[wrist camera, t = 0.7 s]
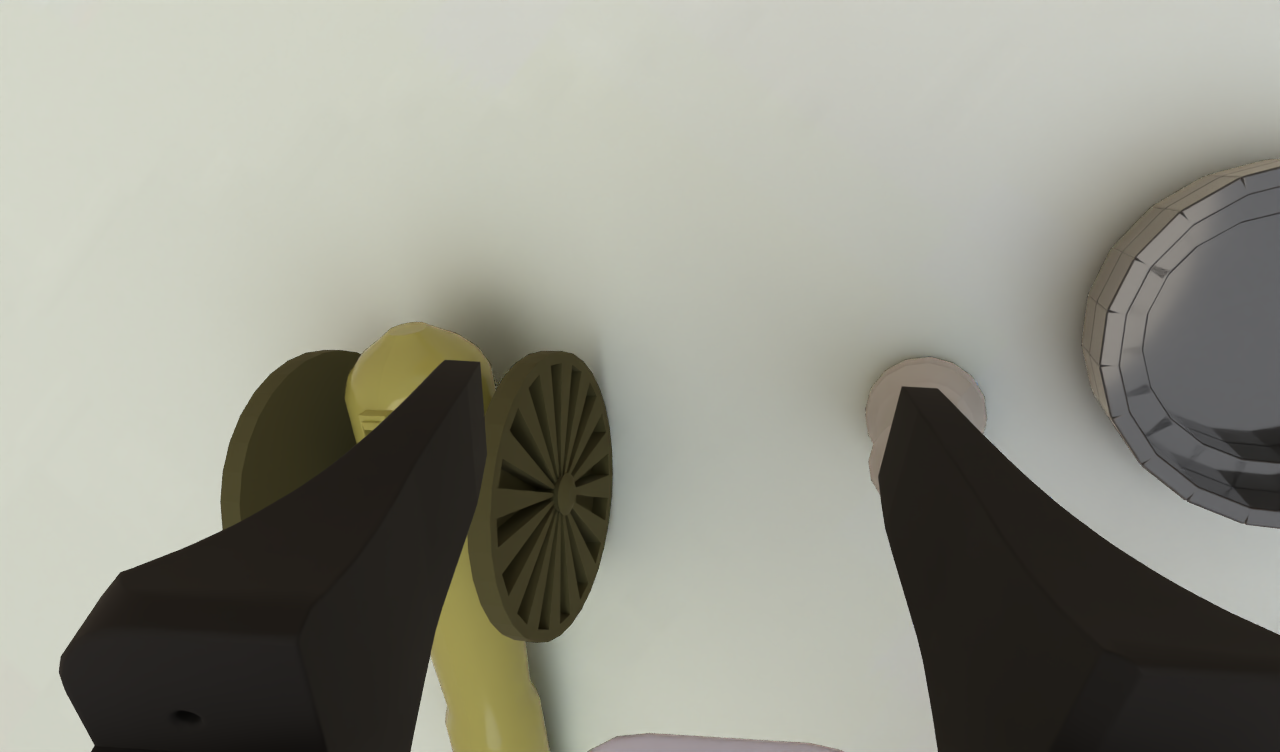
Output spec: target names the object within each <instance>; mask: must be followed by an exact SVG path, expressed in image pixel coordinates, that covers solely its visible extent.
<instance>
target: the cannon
mask: <svg viewBox="0 0 1280 752" xmlns="http://www.w3.org/2000/svg"><path fill="white" fill-rule="evenodd" d="M444 360H460V361H477V362H480V364H481V377H482V391H483V404H484V417H485V431H486V444H487V458H486V463H485V468H484V474H483V479H482V484H481V489H480V494H479V499H478V504H477V507H476V510H475V513H474V516H473V519H472V522H471V525H470V528H469V531H468V534H467V537H466V540H465V543H464V546H463V549H462V552H461V555H460V558H459V561H458V564H457V566H456V569H455V572H454V575H453V578H452V581H451V584H450V587H449V590H448V593H447V596H446V599H445V602H444V605H443V608H442V611H441V614H440V618H439V621H438V625H437V628H436V632H435V636H434V641H433V645H432V650H431V654H430V656H431V659H432V662H433V665H434V668H435V671H436V674H437V677H438V680H439V683H440V686H441V689H442V692H443V694H444V697H445V700H446V703H447V710H446V718H445V723H446V727H447V731H448V735H449V739H450V742H451V746H452V750H453V752H550V747H549V742H548V737H547V732H546V727H545V722H544V717H543V712H542V707H541V701H540V696H539V693H538V691H537V689H536V688H535V686H534V685H533V683H532V682H531V680H530V673H529V665H528V656H527V648H526V642H535V643H538V642H549V641H551V640H553V639H555V638H556V637H558V636H560V635H561V634H562V633H563V632H564V631H565V630H566V629H567V628H568V627H569V626H570V625H571V624H572V623H573V621H574V620H575V618H576V617H577V615H578V614H579V612H580V611H581V609H582V607H583V605H584V603H585V601H586V599H587V597H588V595H589V593H590V591H591V588H592V585H593V583H594V580H595V577H596V574H597V572H598V569H599V565H600V561H601V557H602V553H603V550H604V546H605V540H606V535H607V529H608V524H609V516H610V507H611V498H612V474H613V473H612V447H611V438H610V428H609V423H608V418H607V413H606V408H605V404H604V401H603V398H602V395H601V391H600V388H599V386H598V384H597V382H596V380H595V378H594V376H593V374H592V372H591V371H590V369H589V368H588V367H587V365H586V364H585V363H584V361H582V360H581V359H580V358H578V357H577V356H576V355H574V354H572V353H568V352H563V351H540V352H536V353H531V354H528V355H527V356H525V357H524V358H522V359H521V360H519V361H518V362H516V363H515V365H514V366H513V367H512V368H511V369H510V370H509V372H508V373H507V374H506V375H505V376H504V377H503V379H502V381H501V383H500V384H499V386H498V388H497V390H496V388H495V383H494V377H493V372H492V367H491V364H490V362H489V361H488V360H487V358H486V357H485V356H484V354H483V353H482V352H481V350H480V349H479V348H478V346H477V345H475V344H473V343H472V342H470V341H469V340H467V339H465V338H464V337H462V336H461V335H459V334H457V333H455V332H452V331H448V330H445V329H441V328H438V327H435V326H432V325H429V324H426V323H423V322H411V323H405V324H401V325H398V326H395V327H393V328H391V329H389V330H388V331H387V332H386V333H385V334H384V335H383V336H382V337H380V338H379V339H378V340H377V341H376V342H374V343H373V344H372V345H371V346H370V347H368V348H367V349H366V350H365V351H364V352H363V353H362V354H359V353H357V352H350V351H343V350H321V351H315V352H308V353H304V354H302V355H300V356H298V357H295V358H293V359H291V360H289V361H287V362H286V363H284V364H283V365H282V366H280V367H279V368H278V369H276V370H275V371H274V372H272V373H271V374H270V375H269V376H268V377H267V379H266V380H265V381H264V382H263V383H262V384H261V385H260V387H259V388H258V389H257V390H256V391H255V392H254V394H253V395H252V397H251V399H250V400H249V402H248V404H247V405H246V407H245V409H244V410H243V412H242V414H241V415H240V418H239V420H238V423H237V425H236V428H235V430H234V433H233V435H232V438H231V440H230V443H229V447H228V451H227V456H226V460H225V464H224V469H223V475H222V488H221V501H220V502H221V514H222V527H223V530H224V529H226V528H228V527H230V526H232V525H234V524H236V523H238V522H240V521H242V520H244V519H246V518H248V517H250V516H252V515H253V514H255V513H257V512H258V511H260V510H262V509H264V508H265V507H267V506H269V505H270V504H272V503H274V502H276V501H277V500H279V499H281V498H282V497H284V496H286V495H287V494H289V493H291V492H293V491H294V490H296V489H297V488H299V487H300V486H302V485H303V484H305V483H306V482H308V481H309V480H311V479H312V478H313V477H315V476H316V475H318V474H319V473H321V472H322V471H324V470H325V469H326V468H328V467H329V466H330V465H332V464H333V463H334V462H336V461H337V460H338V459H339V458H341V457H342V456H343V455H344V454H345V453H347V452H348V451H349V450H350V449H351V448H352V447H354V446H355V445H356V444H357V443H358V442H360V441H361V440H362V439H363V438H364V437H365V436H367V435H368V434H369V433H370V432H371V431H372V430H374V429H375V428H376V427H377V426H378V425H379V424H380V423H381V422H382V421H383V420H384V419H385V418H386V417H387V416H388V415H389V414H391V413H392V412H393V411H394V410H395V409H396V408H397V407H398V406H399V405H400V404H401V403H402V402H403V401H404V400H405V399H406V398H407V397H408V396H409V395H410V394H411V393H412V392H413V391H414V390H415V389H416V388H417V387H418V386H419V385H420V384H421V383H422V382H423V381H424V380H425V379H426V378H427V377H428V376H429V374H430V373H431V372H432V371H433V370H434V369H435V368H436V367H437V366H438V365H439V364H441V363H442V362H443V361H444Z"/></svg>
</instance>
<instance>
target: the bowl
mask: <svg viewBox="0 0 1280 752" xmlns="http://www.w3.org/2000/svg"><path fill="white" fill-rule="evenodd" d="M1081 346H1082V350H1083V355H1084V359H1085V364H1086V368H1087V373H1088V377H1089V382H1090V386H1091V390H1092V391H1093V394H1094V396H1095V397H1096V399H1097V400H1098V402H1099V403H1100V405H1101V406H1102V408H1103V410H1104V411H1105V413H1106V414H1107V416H1108V417H1109V419H1110V420H1111V422H1112V424H1113V425H1114V427H1115V428H1116V430H1117V431H1118V433H1119V434H1120V436H1121V437H1122V439H1123V440H1124V442H1125V443H1126V445H1127V446H1128V448H1129V449H1130V451H1131V452H1132V453H1133V455H1134V456H1135V458H1136V459H1137V461H1138V462H1139V463H1140V464H1141V466H1142V467H1143V468H1145V469H1146V470H1147V471H1148V472H1150V473H1151V474H1152V475H1154V476H1155V477H1156V478H1157V479H1159V480H1160V481H1161V482H1162V483H1164V484H1165V485H1166V486H1167V487H1169V488H1170V489H1171V490H1172V491H1174V492H1175V493H1176V494H1177V495H1179V496H1180V497H1181V498H1182V499H1184V500H1186V501H1187V502H1189V503H1192V504H1194V505H1197V506H1199V507H1202V508H1204V509H1207V510H1209V511H1212V512H1214V513H1217V514H1219V515H1222V516H1224V517H1227V518H1229V519H1232V520H1234V521H1237V522H1239V523H1242V524H1246V525H1253V526H1261V527H1270V528H1278V529H1280V159H1268V160H1262V161H1258V162H1254V163H1250V164H1246V165H1243V166H1239V167H1235V168H1231V169H1227V170H1224V171H1220V172H1216V173H1212V174H1208V175H1207V176H1203V177H1201V178H1199V179H1198V180H1196V181H1194V182H1192V183H1191V184H1189V185H1187V186H1185V187H1184V188H1182V189H1180V190H1179V191H1177V192H1175V193H1173V194H1172V195H1170V196H1168V197H1166V198H1165V199H1163V200H1161V201H1159V202H1158V203H1156V204H1154V205H1153V206H1152V207H1151V208H1149V210H1148V211H1147V212H1146V213H1145V214H1144V215H1143V216H1142V217H1141V218H1140V219H1139V220H1138V221H1137V222H1136V223H1135V224H1134V225H1133V226H1132V227H1131V228H1130V229H1129V230H1128V231H1127V232H1126V233H1125V234H1124V235H1123V236H1122V237H1121V238H1120V239H1119V240H1118V241H1117V242H1116V244H1115V245H1114V246H1113V248H1111V249H1110V251H1109V253H1108V255H1107V257H1106V259H1105V261H1104V263H1103V265H1102V267H1101V269H1100V271H1099V273H1098V275H1097V277H1096V279H1095V281H1094V283H1093V285H1092V287H1091V289H1090V291H1089V293H1088V297H1087V304H1086V312H1085V319H1084V327H1083V334H1082V345H1081Z"/></svg>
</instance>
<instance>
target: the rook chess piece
mask: <svg viewBox="0 0 1280 752" xmlns="http://www.w3.org/2000/svg"><path fill="white" fill-rule="evenodd" d="M902 386H907V387H924V388H938V389H939V390H940V391H941V392H942V393H943V394H944V395H945V396H946V397H947V398H948V399H949V400H950V401H951V402H952V403H953V404H954V405H955V406H956V407H957V408H958V409H959V410H960V411H961V412H962V413H963V414H964V415H965V416H966V417H967V418H968V419H969V420H970V422H971V423H972V424H973V425H974V426H975V427H976V428H977V429H978V430H979V431H980V432H981V433H982V434H983V433H984V430H985V427H986V421H987V414H986V406H985V398H984V395H983V393H982V392H981V390H980V388H979V387H978V385H977V384H976V382H975V380H974V379H973V377H972V376H971V375H969V374H968V373H966V372H965V371H964V370H962V369H961V368H960V367H958V366H957V365H955V364H954V363H952V362H948V361H944V360H940V359H936V358H932V357H924V358H915V359H907V360H904V361H902V362H900V363H898V364H897V365H895V366H893V367H891V368H889V369H887V370H885V372H884V373H883V374H882V375H881V376H880V378H879V379H878V380H877V381H876V383H875V384H874V385H873V386H872V387H871V390H870V394H869V397H868V401H867V404H866V408H865V410H866V414H865V415H866V422H867V429H868V436H869V437H870V439H871V441H872V442H873V447H872V450H871V454H870V457H869V461H868V462H869V469H870V476H871V481H872V482H873V484H874V486H875V487H876V489H877V491H878V492H879V494H880V489H879V481H878V475H879V471H880V467H881V463H882V459H883V456H884V452H885V448H886V444H887V440H888V437H889V433H890V429H891V425H892V421H893V417H894V414H895V410H896V406H897V402H898V398H899V395H900V391H901V387H902Z"/></svg>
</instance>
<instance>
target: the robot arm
mask: <svg viewBox="0 0 1280 752" xmlns="http://www.w3.org/2000/svg"><path fill="white" fill-rule="evenodd" d="M486 458H487V444H486V431H485V417H484V404H483V391H482V377H481V364H480V362H477V361H460V360H444V361H443V362H442V363H441V364H439V365H438V366H437V367H436V368H435V369H434V370H433V371H432V372H431V373H430V374H429V376H428V377H427V378H426V379H425V380H424V381H423V382H422V383H421V384H420V385H419V386H418V387H417V388H416V389H415V390H414V391H413V392H412V393H411V394H410V395H409V396H408V397H407V398H406V399H405V400H404V401H403V402H402V403H401V404H400V405H399V406H398V407H397V408H396V409H395V410H394V411H393V412H392V413H391V414H389V415H388V416H387V417H386V418H385V419H384V420H383V421H382V422H381V423H380V424H379V425H378V426H377V427H376V428H375V429H374V430H372V431H371V432H370V433H369V434H368V435H367V436H365V437H364V438H363V439H362V440H361V441H360V442H358V443H357V444H356V445H355V446H354V447H352V448H351V449H350V450H349V451H348V452H347V453H345V454H344V455H343V456H342V457H341V458H339V459H338V460H337V461H336V462H334V463H333V464H332V465H330V466H329V467H328V468H326V469H325V470H324V471H322V472H321V473H319V474H318V475H316V476H315V477H313V478H312V479H311V480H309V481H308V482H306V483H305V484H303V485H302V486H300V487H299V488H297V489H296V490H294V491H293V492H291V493H289V494H287V495H286V496H284V497H282V498H281V499H279V500H277V501H276V502H274V503H272V504H270V505H269V506H267V507H265V508H264V509H262V510H260V511H258V512H257V513H255V514H253V515H252V516H250V517H248V518H246V519H244V520H242V521H240V522H238V523H236V524H234V525H232V526H230V527H228V528H226V529H224V530H222V531H220V532H218V533H216V534H214V535H212V536H210V537H208V538H205V539H203V540H201V541H199V542H197V543H194V544H192V545H190V546H188V547H185V548H183V549H181V550H178V551H175V552H173V553H170V554H168V555H165V556H163V557H160V558H157V559H155V560H152V561H150V562H147V563H145V564H142V565H140V566H137V567H134V568H132V569H129V570H126V571H123V572H120V574H119V575H118V576H117V577H116V579H115V580H114V581H113V582H112V584H111V585H110V586H109V587H108V589H107V590H106V591H105V593H104V594H103V595H102V596H101V598H100V599H99V601H98V602H97V604H96V605H95V607H94V608H93V610H92V611H91V613H90V614H89V616H88V617H87V619H86V620H85V622H84V623H83V624H82V626H81V627H80V629H79V630H78V632H77V633H76V635H75V636H74V638H73V639H72V641H71V642H70V644H69V645H68V647H67V648H66V650H65V651H64V653H63V654H62V655H61V659H60V667H59V674H60V677H61V680H62V683H63V686H64V689H65V691H66V693H67V695H68V697H69V699H70V701H71V702H72V704H73V706H74V708H75V710H76V712H77V714H78V715H79V717H80V719H81V721H82V723H83V725H84V726H85V728H86V730H87V732H88V734H89V736H90V737H91V739H92V741H93V743H94V745H95V746H94V748H93V749H92V751H91V752H410V751H411V746H412V741H413V735H414V730H415V725H416V721H417V716H418V711H419V706H420V701H421V696H422V691H423V686H424V682H425V677H426V673H427V668H428V663H429V659H430V654H431V650H432V645H433V641H434V636H435V632H436V628H437V625H438V621H439V618H440V614H441V611H442V608H443V605H444V602H445V599H446V596H447V593H448V590H449V587H450V584H451V581H452V578H453V575H454V572H455V569H456V566H457V564H458V561H459V558H460V555H461V552H462V549H463V546H464V543H465V540H466V537H467V534H468V531H469V528H470V525H471V522H472V519H473V516H474V513H475V510H476V507H477V504H478V499H479V494H480V489H481V484H482V479H483V474H484V468H485V463H486ZM878 481H879V489H880V496H881V504H882V511H883V517H884V523H885V529H886V533H887V536H888V540H889V543H890V547H891V550H892V554H893V557H894V561H895V564H896V568H897V571H898V574H899V578H900V581H901V584H902V588H903V591H904V595H905V598H906V601H907V605H908V608H909V611H910V615H911V618H912V622H913V625H914V628H915V632H916V635H917V639H918V643H919V647H920V651H921V655H922V659H923V664H924V669H925V675H926V681H927V686H928V692H929V698H930V703H931V709H932V715H933V722H934V728H935V735H936V741H937V748H938V752H1280V635H1278V634H1276V633H1274V632H1272V631H1270V630H1267V629H1265V628H1263V627H1261V626H1259V625H1256V624H1254V623H1252V622H1250V621H1248V620H1245V619H1243V618H1241V617H1239V616H1237V615H1234V614H1232V613H1230V612H1228V611H1226V610H1224V609H1222V608H1220V607H1218V606H1216V605H1214V604H1213V603H1211V602H1209V601H1207V600H1205V599H1203V598H1201V597H1199V596H1197V595H1196V594H1194V593H1192V592H1190V591H1188V590H1186V589H1184V588H1182V587H1181V586H1179V585H1177V584H1175V583H1174V582H1172V581H1170V580H1169V579H1167V578H1165V577H1163V576H1162V575H1160V574H1158V573H1156V572H1155V571H1153V570H1152V569H1150V568H1148V567H1147V566H1145V565H1144V564H1142V563H1141V562H1139V561H1137V560H1136V559H1134V558H1133V557H1131V556H1129V555H1128V554H1126V553H1125V552H1123V551H1122V550H1120V549H1119V548H1117V547H1116V546H1114V545H1113V544H1111V543H1110V542H1108V541H1107V540H1105V539H1104V538H1102V537H1101V536H1100V535H1098V534H1097V533H1096V532H1094V531H1093V530H1092V529H1090V528H1089V527H1088V526H1086V525H1085V524H1084V523H1082V522H1081V521H1079V520H1078V519H1077V518H1075V517H1074V516H1073V515H1071V514H1070V513H1069V512H1068V511H1066V510H1065V509H1064V508H1063V507H1061V506H1060V505H1059V504H1058V503H1056V502H1055V501H1054V500H1053V499H1052V498H1051V497H1049V496H1048V495H1047V494H1046V493H1045V492H1044V491H1043V490H1041V489H1040V488H1039V487H1038V486H1037V485H1036V484H1034V483H1033V482H1032V481H1031V480H1030V479H1029V478H1028V477H1027V476H1025V475H1024V474H1023V473H1022V472H1021V471H1020V470H1019V469H1018V468H1017V467H1016V466H1015V465H1014V464H1013V463H1012V462H1010V461H1009V460H1008V459H1007V458H1006V457H1005V456H1004V455H1003V454H1002V453H1001V452H1000V451H999V450H998V449H997V448H996V447H995V446H994V445H993V444H992V443H991V442H990V441H989V440H988V439H987V438H986V437H985V436H984V435H983V434H982V433H981V432H980V431H979V430H978V429H977V428H976V427H975V426H974V425H973V424H972V423H971V422H970V420H969V419H968V418H967V417H966V416H965V415H964V414H963V413H962V412H961V411H960V410H959V409H958V408H957V407H956V406H955V405H954V404H953V403H952V402H951V401H950V400H949V399H948V398H947V397H946V396H945V395H944V394H943V393H942V392H941V391H940V390H939V389H938V388H924V387H907V386H902V387H901V391H900V395H899V398H898V402H897V406H896V410H895V414H894V417H893V421H892V425H891V429H890V433H889V437H888V440H887V444H886V448H885V452H884V456H883V459H882V463H881V467H880V471H879V475H878ZM588 752H844V751H842V750H838V749H834V748H829V747H825V746H821V745H816V744H812V743H800V742H784V741H768V740H752V739H736V738H720V737H703V736H687V735H671V734H655V733H646V734H636V735H625V736H616V737H614V738H612V739H610V740H608V741H606V742H604V743H602V744H600V745H599V746H597V747H595V748H593V749H591V750H589V751H588Z"/></svg>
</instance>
